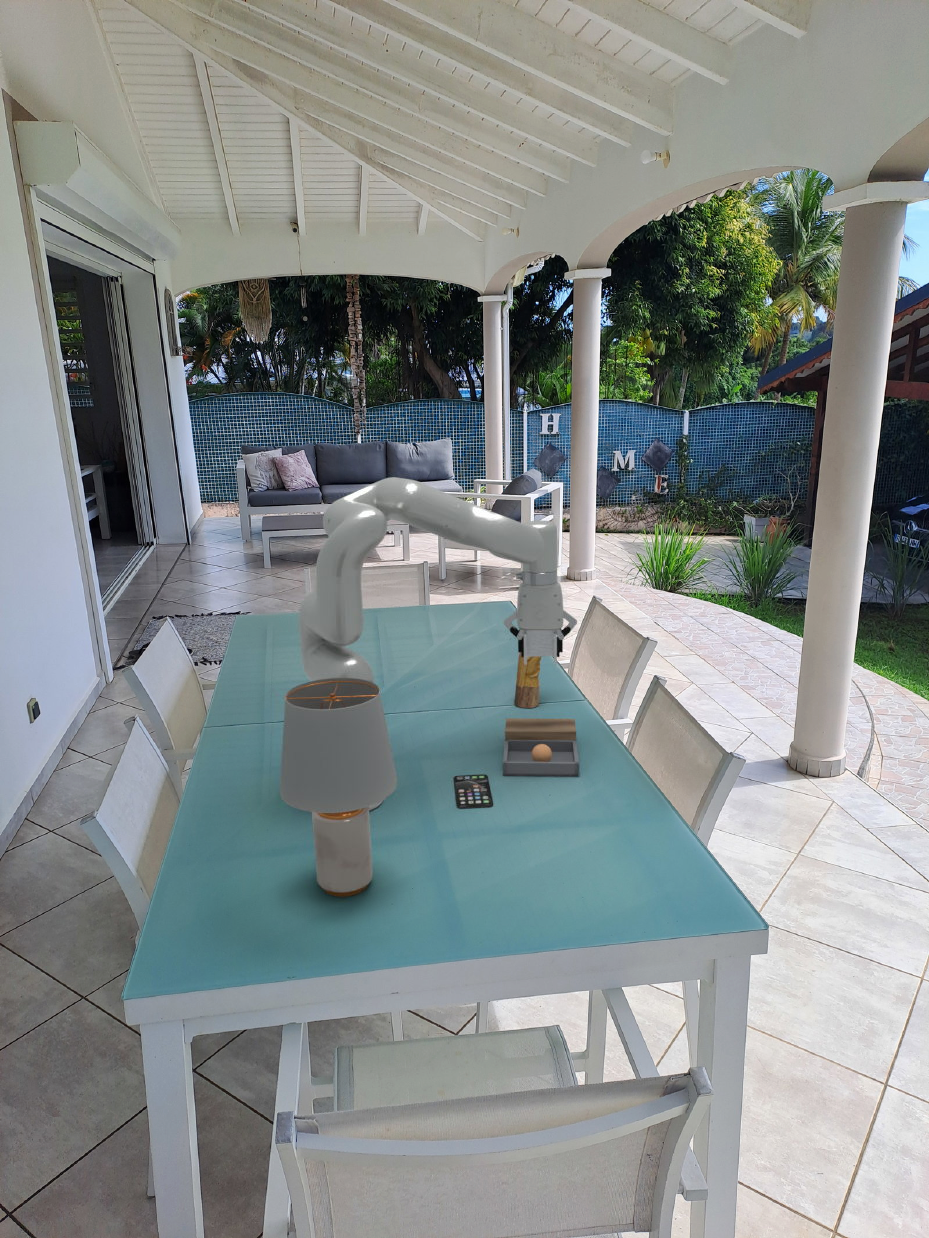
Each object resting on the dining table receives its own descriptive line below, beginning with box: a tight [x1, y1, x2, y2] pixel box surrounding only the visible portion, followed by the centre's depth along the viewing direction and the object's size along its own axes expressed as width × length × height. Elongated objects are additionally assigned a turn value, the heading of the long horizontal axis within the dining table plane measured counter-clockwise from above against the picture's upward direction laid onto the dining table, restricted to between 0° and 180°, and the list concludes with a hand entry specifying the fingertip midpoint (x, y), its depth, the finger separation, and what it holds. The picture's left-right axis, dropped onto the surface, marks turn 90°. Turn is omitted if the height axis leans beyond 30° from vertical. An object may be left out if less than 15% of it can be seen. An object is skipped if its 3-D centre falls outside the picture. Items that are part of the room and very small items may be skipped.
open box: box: [524, 630, 558, 666], centre depth 193 cm, size 7×7×7 cm
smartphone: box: [453, 773, 494, 810], centre depth 178 cm, size 7×1×15 cm
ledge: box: [504, 717, 577, 741], centre depth 199 cm, size 8×16×5 cm, turn 85°
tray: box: [502, 739, 580, 778], centre depth 190 cm, size 13×16×3 cm
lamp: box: [279, 678, 398, 898], centre depth 141 cm, size 19×19×34 cm
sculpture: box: [513, 652, 542, 709], centre depth 222 cm, size 7×9×30 cm
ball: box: [532, 744, 552, 762], centre depth 188 cm, size 4×4×4 cm
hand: (540, 654), depth 193 cm, fingers closed on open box, 7 cm apart
